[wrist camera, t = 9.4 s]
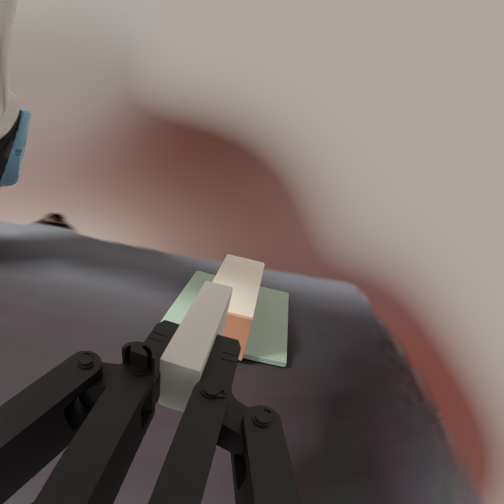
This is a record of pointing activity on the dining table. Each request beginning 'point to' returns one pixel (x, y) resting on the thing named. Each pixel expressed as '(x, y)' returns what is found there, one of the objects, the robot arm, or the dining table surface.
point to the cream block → (240, 295)
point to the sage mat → (263, 323)
